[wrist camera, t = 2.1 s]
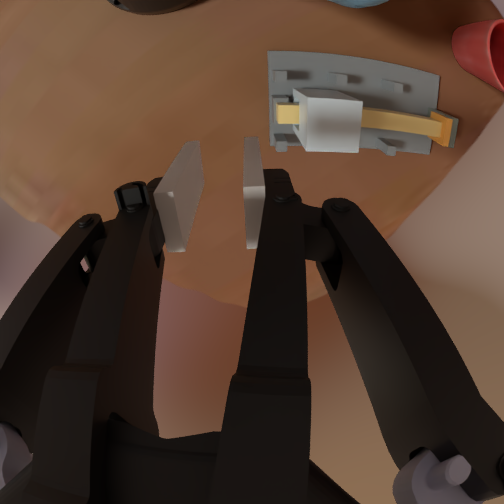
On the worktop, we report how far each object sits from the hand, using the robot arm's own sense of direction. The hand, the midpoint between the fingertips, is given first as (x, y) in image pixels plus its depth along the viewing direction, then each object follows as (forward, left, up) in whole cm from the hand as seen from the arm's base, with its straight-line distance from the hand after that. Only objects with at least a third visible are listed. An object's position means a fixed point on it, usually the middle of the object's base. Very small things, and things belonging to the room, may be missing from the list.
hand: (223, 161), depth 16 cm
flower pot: (-13, +34, -20) cm, 41 cm away
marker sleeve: (0, +9, -17) cm, 19 cm away
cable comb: (-1, +16, -20) cm, 25 cm away
